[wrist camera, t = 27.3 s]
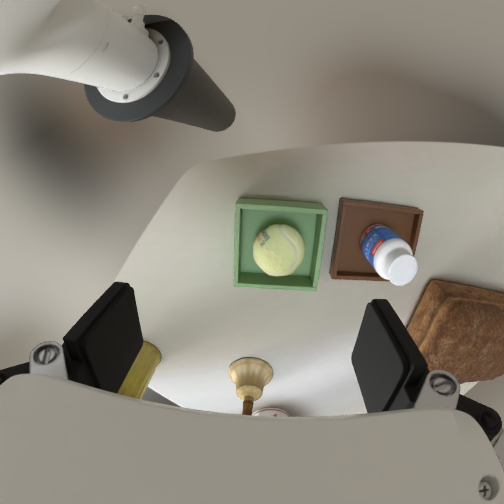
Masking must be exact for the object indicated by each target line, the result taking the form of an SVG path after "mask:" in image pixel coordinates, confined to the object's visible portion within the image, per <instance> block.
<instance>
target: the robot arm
mask: <svg viewBox="0 0 504 504" xmlns="http://www.w3.org/2000/svg"><path fill="white" fill-rule="evenodd" d="M145 10H146V7H145V6H143V5H138V6H135V7H134V8H133V13H132V20H131V22H130V23H129V22H128V17H127V16H120V15H118V14H117V13H116V12H114V11H113V10H111V9H110V8H109V7H107V6H106V5H104V4H103V3H102V2H100V1H99V0H0V75H3V74H11V73H32V74H40V75H47V76H52V77H57V78H62V79H67V80H71V81H76V82H81V83H85V84H89V85H93V86H97V88H98V90H99V92H100V93H101V94H102V95H103V96H104V97H105V98H106V99H108V100H110V101H114V102H119V103H128V102H133V101H136V100H139V99H141V98H143V97H145V96H146V95H148V94H149V93H150V92H152V91H153V90H154V89H155V88H156V87H157V86H158V85H159V83H160V82H161V81H162V80H163V78H164V76H165V74H166V73H167V70H168V67H169V64H170V59H171V51H170V47H169V44H168V42H167V40H166V39H165V38H164V37H163V35H161V34H160V33H159V32H158V31H155V30H153V29H150V28H144V27H145V23H144V22H143V18H144V15H145ZM161 43H162V44H161ZM158 75H159V77H158ZM127 97H128V98H127ZM63 340H64V343H63V345H62V346H61V345H60V344H59V343H57V342H53V341H48V342H43V343H40V344H39V345H37V346H36V347H35V348H34V349H33V350H32V351H31V353H30V357H29V359H30V361H29V362H27V363H24V364H20V365H17V366H13V367H9V368H6V369H3V370H0V504H504V429H502V421H501V418H500V416H499V414H498V413H497V412H496V411H495V410H493V409H492V408H490V407H487V406H485V405H483V404H481V403H478V402H476V401H474V400H472V399H470V398H467V397H465V396H463V395H461V394H459V393H460V384H459V381H458V380H457V379H456V377H455V376H453V375H452V374H451V373H449V372H447V371H444V370H434V371H431V372H430V371H429V369H428V368H427V367H428V364H427V362H426V360H425V358H424V357H423V355H422V353H421V352H420V350H419V348H418V347H417V345H416V344H415V342H414V340H413V339H412V337H411V336H410V334H409V332H408V331H407V329H406V328H405V326H404V325H403V323H402V321H401V320H400V318H399V317H398V315H397V314H396V312H395V311H394V309H393V308H392V306H391V305H390V303H389V302H388V300H386V299H373V300H372V301H371V303H368V304H367V306H366V310H365V313H364V317H363V320H362V324H361V327H360V330H359V334H358V337H357V340H356V343H355V346H354V349H353V352H352V364H353V367H354V370H355V373H356V377H357V380H358V383H359V386H360V389H361V393H362V396H363V399H364V403H365V406H366V409H367V413H366V414H354V415H340V416H320V417H275V416H253V415H239V414H228V413H218V412H210V411H202V410H195V409H188V408H182V407H176V406H170V405H165V404H159V403H154V402H150V401H145V400H141V399H136V398H132V397H128V396H124V395H120V394H117V393H118V391H119V389H120V387H121V385H122V384H123V382H124V380H125V378H126V376H127V374H128V372H129V370H130V368H131V367H132V365H133V363H134V361H135V359H136V357H137V356H138V354H139V352H140V350H141V348H142V346H143V337H142V332H141V327H140V322H139V317H138V312H137V306H136V301H135V295H134V289H133V288H132V287H130V285H129V284H128V283H123V282H114V283H113V284H112V285H111V286H110V287H109V288H108V289H107V290H106V291H105V292H104V294H103V295H102V296H101V297H100V298H99V299H98V300H97V301H96V302H95V303H94V304H93V305H92V306H91V307H90V308H89V309H88V311H87V312H86V313H85V314H84V315H83V316H82V317H81V318H80V319H79V320H78V321H77V323H76V324H75V325H74V326H73V327H72V328H71V329H70V330H69V332H68V333H67V334H66V335H65V336H64V337H63Z"/></svg>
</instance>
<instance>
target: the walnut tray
mask: <svg viewBox="0 0 504 504" xmlns="http://www.w3.org/2000/svg"><path fill="white" fill-rule="evenodd" d="M422 217H423V211H422V210H420V209H418V208H414V207H407V206H400V205H393V204H386V203H378V202H370V201H362V200H353V199H344V198H340V201H339V210H338V218H337V225H336V233H335V240H334V246H333V253H332V259H331V265H330V271H329V273H330V276H331V278H332V279H346V280H371V281H390V280H387V279H384V278H382V277H381V276H380V275H379V274H378V273H377V272H376V270H375V269H374V267H373V266H372V265H371V263H370V262H369V261H368V259H367V258H366V257H365V256H364V254H363V253H362V251H361V248H360V239H361V236H362V234H363V233H364V231H365V230H366V229H367V228H368V227H370V226H372V225H375V224H382V225H385V226H387V227H388V228H390V229H391V230H392V231H393V232H394V233H396V234H397V235H398V236H399V237H400V238H402V239H403V240H404V241H405V242H406V243H407V244H408V245H409V246H410V248H411V250H412V253H413V257H414V255H415V250H416V246H417V242H418V237H419V232H420V227H421V222H422Z"/></svg>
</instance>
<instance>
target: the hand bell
mask: <svg viewBox="0 0 504 504" xmlns="http://www.w3.org/2000/svg"><path fill="white" fill-rule="evenodd" d="M228 374H229V377H230V379H231V380H232V381H233V382H234V383H235V384H236V394H237V396H238V397H239V398H240V399H242V400H244V401H243V412H242V415H252V408H253V402H254V401H256V400H258V399H259V398H260V397H261V396H262V391H263V388H264V386H265V385H266V384H268V383H269V382H270V381H271V379H272V377H273V370H272V368H271V366H270V365H269V364H268V363H266V362H264V361H263V360H260V359H256V358H243V359H239V360H237V361H235V362H234V363H232V364H231V365H230V367H229V370H228Z"/></svg>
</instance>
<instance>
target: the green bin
mask: <svg viewBox="0 0 504 504" xmlns="http://www.w3.org/2000/svg"><path fill="white" fill-rule="evenodd" d="M235 208H236V209H235V239H234V283H233V286H234V287H248V288H263V289H281V290H300V291H316V289H317V283H318V277H319V271H320V264H321V258H322V251H323V244H324V236H325V228H326V220H327V212H328V210H327V209H326V208H325V207H324V206H323V205H322V204H321V203H309V202H297V201H283V200H268V199H251V198H239V199H238V200H237V202H236V205H235ZM274 224H279V225H282V224H285V225H288V226H290V227H292V228H294V229H295V230H297V231H298V233H299V234H300V235H301V237H302V239H303V242H304V247H305V251H304V257H303V260H302V262H301V264H300V265H299V267H297V269H296V270H295V271H294V273H292V274H290V275H289V274H288V276H286V275H285V276H278V277H277V276H269V275H268V274H267V273H265V272H264V271H263V270H262V269H261V268H260V267H259V266H258V265H257V264H256V262H255V260H254V257H253V244H254V241H255V239H256V237H257V236H258V235H259V233H260V232H261V231H262V230H264V229H265V228H267V227H268V226H270V225H274Z"/></svg>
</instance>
